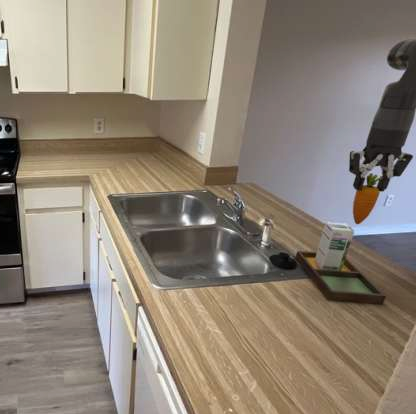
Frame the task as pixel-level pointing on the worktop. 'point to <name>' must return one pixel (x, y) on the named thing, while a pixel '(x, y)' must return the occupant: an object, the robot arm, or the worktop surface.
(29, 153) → the worktop surface
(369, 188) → the carrot
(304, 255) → the sorting tray
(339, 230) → the syrup box
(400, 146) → the robot arm
